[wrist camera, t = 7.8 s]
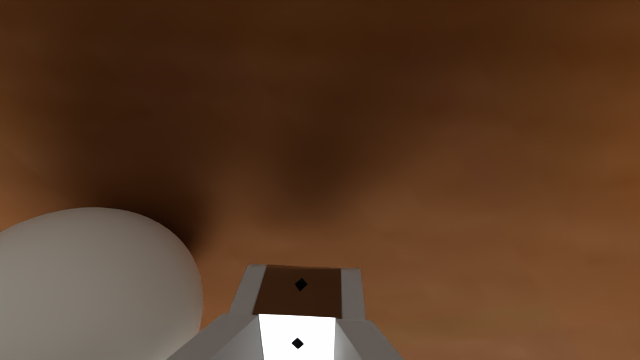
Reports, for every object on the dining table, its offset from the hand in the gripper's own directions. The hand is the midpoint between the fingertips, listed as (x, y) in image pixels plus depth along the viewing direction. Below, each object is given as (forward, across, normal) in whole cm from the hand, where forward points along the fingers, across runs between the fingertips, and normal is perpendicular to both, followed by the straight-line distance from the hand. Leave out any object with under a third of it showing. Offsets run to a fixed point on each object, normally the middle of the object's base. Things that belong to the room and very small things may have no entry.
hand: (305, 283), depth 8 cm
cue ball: (-1, +6, 0) cm, 6 cm away
